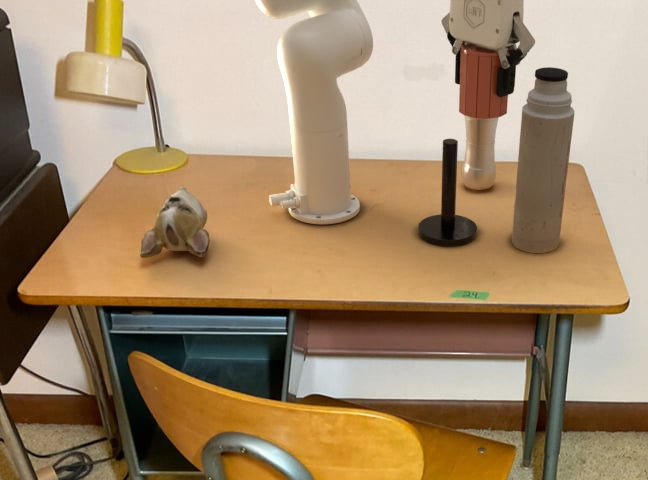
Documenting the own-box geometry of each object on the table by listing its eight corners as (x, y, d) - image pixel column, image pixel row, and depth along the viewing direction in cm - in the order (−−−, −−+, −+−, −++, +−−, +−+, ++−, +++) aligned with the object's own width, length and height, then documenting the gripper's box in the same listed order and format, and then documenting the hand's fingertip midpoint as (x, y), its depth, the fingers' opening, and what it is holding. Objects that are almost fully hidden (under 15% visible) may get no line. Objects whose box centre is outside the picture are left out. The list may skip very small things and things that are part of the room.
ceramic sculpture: (214, 177, 139) (199, 222, 127) (222, 224, 144) (209, 271, 133) (148, 177, 138) (127, 223, 127) (159, 225, 144) (140, 272, 132)
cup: (473, 121, 120) (475, 55, 115) (450, 106, 125) (452, 42, 120) (515, 114, 123) (520, 49, 117) (492, 100, 128) (495, 37, 122)
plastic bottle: (501, 185, 161) (509, 77, 149) (483, 197, 156) (490, 86, 144) (472, 177, 164) (477, 70, 151) (454, 188, 159) (457, 79, 147)
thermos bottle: (561, 234, 145) (581, 65, 128) (556, 255, 139) (577, 81, 122) (514, 229, 146) (528, 61, 129) (508, 250, 140) (522, 76, 123)
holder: (434, 251, 139) (435, 156, 129) (408, 226, 146) (408, 135, 136) (487, 240, 143) (493, 147, 133) (460, 216, 150) (463, 126, 140)
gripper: (423, -55, 114) (422, 80, 125) (524, -36, 104) (514, 108, 115) (460, -61, 118) (457, 70, 129) (560, -43, 109) (547, 96, 120)
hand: (484, 87), depth 122 cm, fingers closed on cup, 7 cm apart
